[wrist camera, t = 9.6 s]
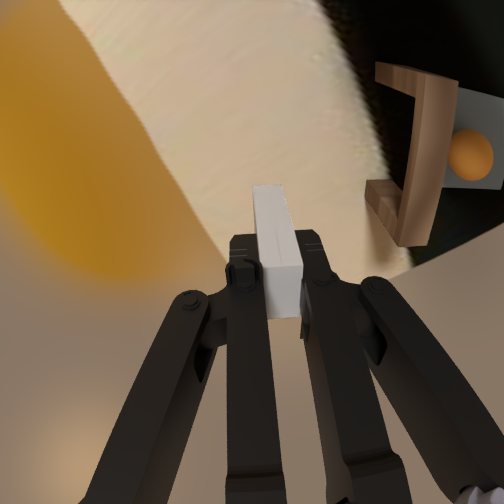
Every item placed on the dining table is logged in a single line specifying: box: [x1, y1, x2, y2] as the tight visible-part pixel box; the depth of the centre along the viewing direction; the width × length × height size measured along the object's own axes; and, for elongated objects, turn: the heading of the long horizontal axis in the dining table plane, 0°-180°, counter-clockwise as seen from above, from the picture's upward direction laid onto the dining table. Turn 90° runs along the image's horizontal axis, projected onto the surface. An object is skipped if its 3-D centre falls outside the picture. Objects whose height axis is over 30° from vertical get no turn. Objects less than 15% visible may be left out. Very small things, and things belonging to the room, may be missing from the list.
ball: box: [448, 129, 494, 181], centre depth 27 cm, size 6×6×6 cm
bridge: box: [365, 61, 459, 247], centre depth 25 cm, size 3×14×9 cm, turn 3°
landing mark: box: [442, 87, 504, 190], centre depth 29 cm, size 12×12×1 cm
